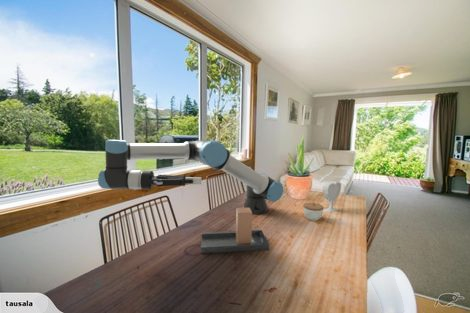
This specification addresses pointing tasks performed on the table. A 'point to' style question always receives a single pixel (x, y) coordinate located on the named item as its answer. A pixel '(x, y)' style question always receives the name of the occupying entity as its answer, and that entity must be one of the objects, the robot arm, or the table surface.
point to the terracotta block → (243, 225)
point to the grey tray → (232, 242)
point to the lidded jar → (313, 211)
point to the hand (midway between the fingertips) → (201, 180)
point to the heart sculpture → (331, 194)
